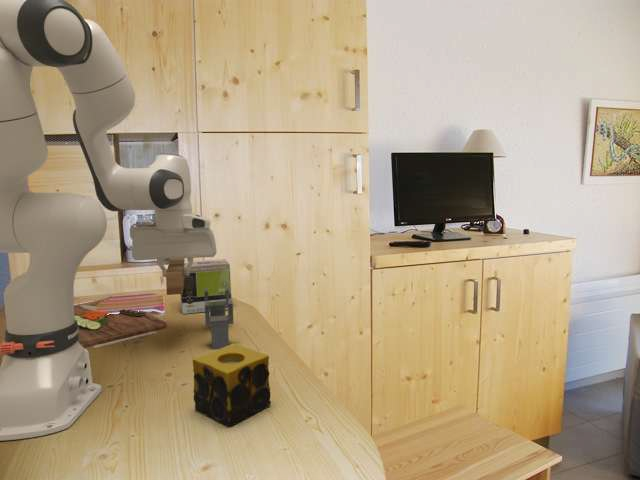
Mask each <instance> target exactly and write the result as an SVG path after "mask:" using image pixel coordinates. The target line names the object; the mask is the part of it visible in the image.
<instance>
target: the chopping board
mask: <svg viewBox="0 0 640 480" xmlns="http://www.w3.org/2000/svg"><path fill="white" fill-rule="evenodd" d="M106 299H107V298H105V299H99V300H96V299H94V300H89V301H84V302H83V301H81V302H76V303H74V316H75V320H77V323H78V327H79V339H78V342H79V343H80V345H81V346H82V347H84V348H85V349H87V348H89V347H92V349H93V350H95V349H98V348H102V347H107V346H111V345H114V344H119V343H123V342H127V341H131V340H136V339H139V338H143V337H147V336H151V335H156V334H157V331H160V329H161V330H163V328H164V329H165V328H166V327H167V326H168V324H167V322H166V321H165V320H163V319H160V318H158V317H156V316H154V315H152V314H150V313H148V312H146V311H144V310H142V311H139V312H138V311H132V310H125V309H123V310H120V311H118V312H120V313H119V314H109V315H107V314H108V312H99V311H94V310H95V309H96V308H97V305H98V304H99V303H100V302H101V301H104V300H106ZM116 312H117V311H116ZM110 313H112V312H110ZM156 330H157V331H156ZM152 331H153V332H152ZM155 333H156V334H155Z"/></svg>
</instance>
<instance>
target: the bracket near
mask: <svg viewBox="0 0 640 480" xmlns="http://www.w3.org/2000/svg"><path fill="white" fill-rule="evenodd" d="M204 316H205V317H204V319H205V320H204V321H205V327H207V326H210V325H211V327H210V336H211V337H210V338H211V339H210V340H211V350H218V349H221V348H223V347H226V346H228V345H230V344H229V343H230V342H229V325H232V324H233V325H234V302H233V298H231V300H228V310H227V314H225V316H212V317H210V311H209V301H205V312H204Z"/></svg>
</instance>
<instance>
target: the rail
mask: <svg viewBox="0 0 640 480" xmlns="http://www.w3.org/2000/svg"><path fill="white" fill-rule="evenodd" d="M184 262H185V258H176V259H169V263H168V266H167V268H166V269H167V272H166V277H165V280H166V281H165V283H166V284H165V285H166V296H170V295H171V296H172V295H180V294H183V287H184V279H185V276H183V268H185V267H184Z"/></svg>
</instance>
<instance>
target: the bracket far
mask: <svg viewBox="0 0 640 480" xmlns="http://www.w3.org/2000/svg"><path fill="white" fill-rule="evenodd" d="M204 298H205V301H208V288H204ZM228 300H230V292H229V287H225V301H216V302H209V309H210V311H209V317H212V316H225V315H226V310H225V308H228ZM210 328H211V325H210Z"/></svg>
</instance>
